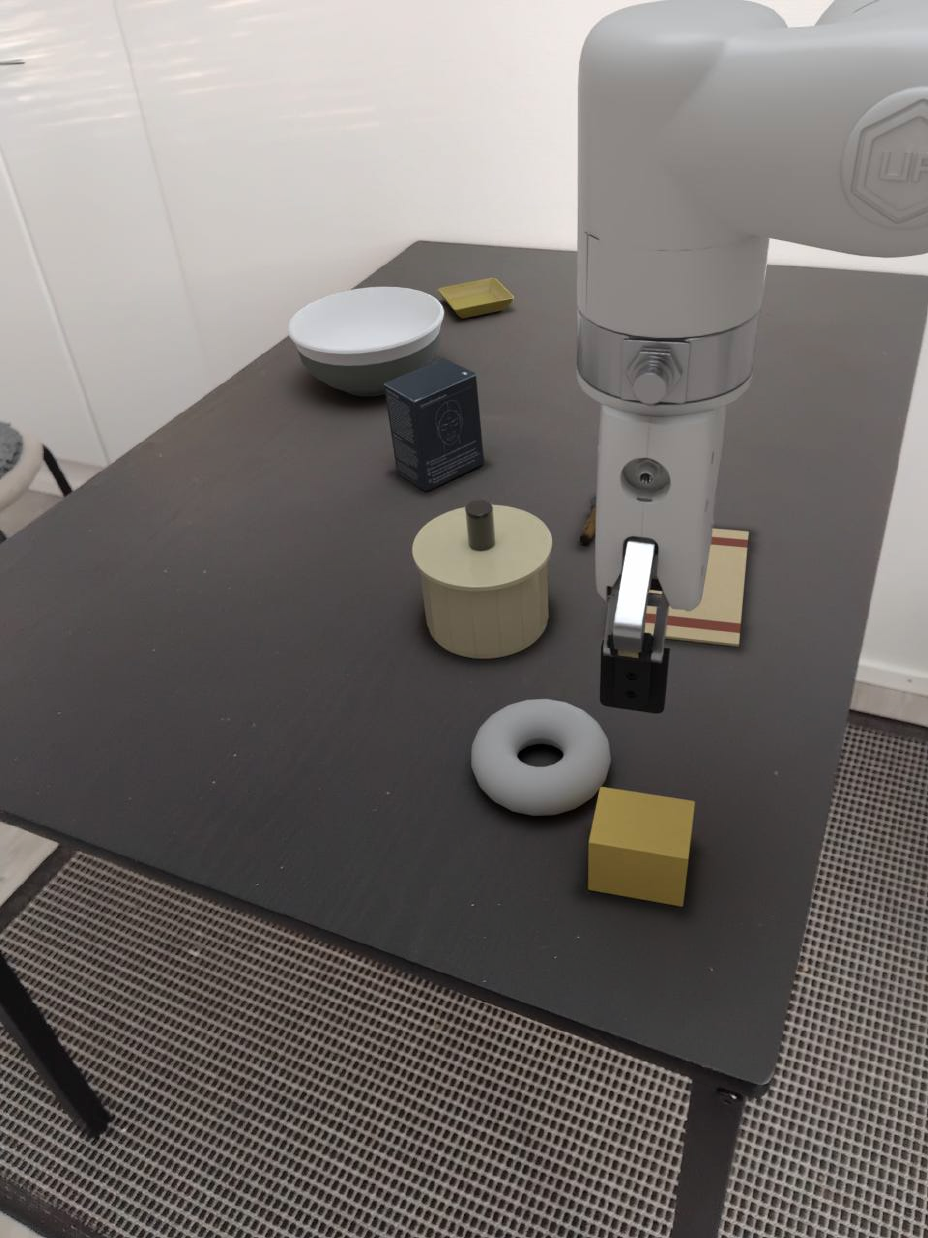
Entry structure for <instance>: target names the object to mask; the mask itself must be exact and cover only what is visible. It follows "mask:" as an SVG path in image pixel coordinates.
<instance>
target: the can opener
mask: <svg viewBox="0 0 928 1238" xmlns="http://www.w3.org/2000/svg"><path fill="white" fill-rule="evenodd" d="M589 501H590V504H591V505H592V506H594V507H593V508H592V510H591V512H590V514H589V517H588V518H587V520H586V522H585V524H584V525H583V527H582V529H581V531H580V535H579V541H580V543H582V544H584V545H586V544H587V545H588V544H589V543H590V542H591V540H592V539H593V538H594V535H595V534H596V497H592V498H591V499H590V500H589Z"/></svg>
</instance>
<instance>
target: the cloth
mask: <svg viewBox="0 0 928 1238" xmlns="http://www.w3.org/2000/svg"><path fill="white" fill-rule="evenodd" d="M749 535H750V532H749V531H747V530H737V529H725V528H724V529H723V528H715V527H713V532H712V539H711V546H710V553H709V559H708V565H707V572H706V578H705V584H704V590H703V595H702V599H701V602H700V604H699V605H698V606H697V607H696V608H695V609H693V610H692V611H686V610H678V609H672V608H671V606H669V614H668V622H667V629H666V637H665V640H676V641H684V642H693V643H702V644H708V645H709V644H710V645H718V646H727V647H728V646H729V647H737V648H739V647H740V639H741V626H742V616H743V615H742V614H743V603H744V593H745V592H744V591H745V580H746V571H747V569H746V568H747V557H748V547H749V545H748V544H749ZM649 593H657V594H662V591H654V590H650V592H649ZM656 610H657V607H654V606H647V611H646V620H645V632H646V633H651V635H652V636H653V633H654V625H655V617H656Z"/></svg>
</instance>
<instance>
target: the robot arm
mask: <svg viewBox="0 0 928 1238" xmlns="http://www.w3.org/2000/svg"><path fill="white" fill-rule="evenodd" d="M576 231H577V233H576V234H577V236H576V237H577V238H576V239H577V240H576V243H577V246H576V248H577V249H576V262H577V263H576V303H577V305H576V381H577V383H578V386H579V388H580V390H582V392H583V393H584V394H585V395H587V396H588V397H589V398H590V399H592V400H593V401H596V402H597V403H599V405H600V406H599V407H600V408H599V424H598V425H599V426H598V427H599V428H598V446H597V448H596V449H597V470H596V471H597V472H596V495H595V496H596V497H595V502H596V531H595V538H594V539H595V540H594V542H595V543H594V544H595V545H594V546H595V548H594V549H595V551H594V555H595V556H594V557H595V559H594V561H595V562H594V563H595V566H594V567H595V569H594V571H595V586H596V592H597V594H598V596H600V597H601V598H602V600H604V601H605V602H607V603H608V605H607V606H608V607H607V614H606V621H605V632H604V639H602V641H601V645H600V672H599V673H600V675H599V703H600V704H601V705H603V706H604V707H608V708H614V709H621V710H626V711H627V710H628V711H634V712H642V713H649V714H656V715H658V714H662V713H663V712H664V710H665V705H666V699H667V698H666V697H667V687H668V675H669V663H670V655H671V654H670V652H671V648H670V647H665V644H666V638H665V637H666V629H667V622H668V614H669V606H671V608H672V609H678V610H686V611H692V610H693V609H695V608H696V607H697V606H698V605H699V604H700V602H701V599H702V595H703V590H704V584H705V578H706V572H707V565H708V559H709V553H710V546H711V539H712V532H713V528H714V524H715V516H716V507H717V500H718V499H717V497H718V490H719V482H720V473H721V462H722V455H723V446H724V438H725V437H724V436H725V435H724V434H725V426H726V425H725V424H726V412H727V411H726V409H727V405H729V404H731V403H733V402H735V401H736V400H738V399H740V398H741V396H743V395H744V394H745V393H747V391H748V390H749V388H750V386H751V384H752V381H753V374H754V367H755V366H754V365H755V357H756V350H757V344H758V343H757V342H758V336H759V335H758V334H759V327H760V319H761V311H762V304H763V303H762V302H763V296H764V290H765V283H766V282H765V281H766V275H767V274H766V273H767V267H768V266H767V265H768V258H769V251H770V244H771V243H770V242H771V239H773V240H777V241H781V242H782V241H783V242H788V243H792V244H798V245H801V246H807V247H811V248H816V249H821V250H826V251H831V252H836V253H841V254H845V255H852V256H860V257H867V258H868V257H869V258H870V257H871V258H882V259H890V258H891V259H893V258H895V259H896V258H897V259H898V258H905V257H906V258H907V257H908V258H909V257H914V256H921V255H925V254H928V0H833V1H832V3H831V4H830V5H829V6H828V7H827V8H826V9H825V10H824V11H823V13H822V14H820V17H819V18H818V19H817V21H816V22H815V23H814V25H809V26H793V27H792V26H791V27H788V25H787V23H786V20H785V19H784V17H782V16H781V15H780V14H779V13H778V12H777V11H776V10H775V9H773V8H771V7H769V6H767V5H763V4H762V3H758V2H755V1H752V0H656V1H650V2H643V3H639V4H634V5H633V4H632V5H630V6H626V7H623V8H621V9H618V10H615V11H613V12H611V13H609V14H607V15H605V16H604V17H602V18H600V19H599V21H598V22H597V23H595V24H594V25H593V27H592V28H591V29H590V31H589V32H588V34H587V35H586V37H585V39H584V42H583V45H582V47H581V51H580V56H579V61H578V75H577V230H576ZM650 590H654V591H662V594H657V593H649V592H650ZM647 606H654V607H657V610H656V617H655V625H654V633H653V636H652V635H651V633H646V632H645V620H646V611H647Z"/></svg>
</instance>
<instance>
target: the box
mask: <svg viewBox="0 0 928 1238" xmlns="http://www.w3.org/2000/svg"><path fill="white" fill-rule="evenodd" d="M384 389H385V394H384V395H385V401H386V407H387V408H386V409H387V415H388V422H389V428H390V429H389V430H390V435H391V440H392V441H391V442H392V448H393V456H394V461H395V462H394V463H395V469H396V472H397V473H398V474H399V475H401V476H402V477H403V478H405V479H406V480H408V481H409V482H411V483H412V484H414V485H415V486H417V487H419V488H420V489H421V490H423V491H424V492H428V491H431V490H433V489H435V488H436V487H439V486H442V485H443V484H445V483H447V482H450V481H451V480H453V479H456V478H457V477H459V476H462V475H463V474H466V473H468V472H470V471H472V470H474V469H476V468H478V467H480V466H482V465H484V464H485V457H484V447H483V445H484V444H483V436H482V425H481V412H480V402H479V392H478V391H479V390H478V382H477V374H476V372H474V371H472V370H470V369H468V368H466V367H464V366H462V365H460V364H458V363H456V362H454V361H453V360H450V359H448V358H446V357H445V358H444V357H443V358H441V359H439V360H436V361H434V362H431V363H430V364H429V365H427V366H424V367H422V368H420V369H417V370H415V371H412V372H410V373H408V374H405V375H403V376H400V377H398V378H396V379H393V380H391V381H388V382H386V383H384Z"/></svg>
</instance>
